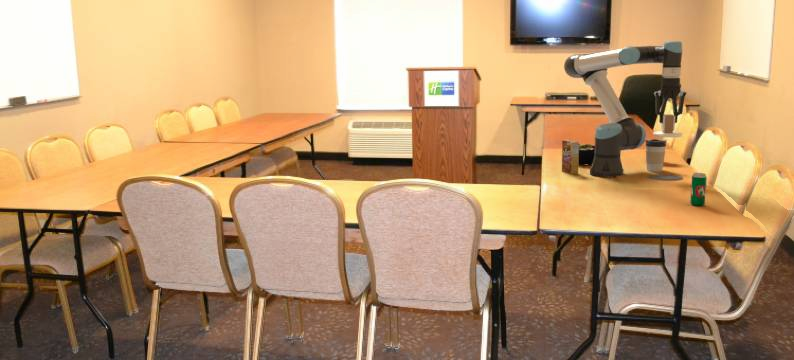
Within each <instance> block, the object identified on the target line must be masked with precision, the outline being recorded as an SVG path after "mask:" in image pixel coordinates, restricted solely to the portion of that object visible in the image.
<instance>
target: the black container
mask: <svg viewBox="0 0 794 360" xmlns="http://www.w3.org/2000/svg"><path fill="white" fill-rule="evenodd" d="M594 153H595V145H591V144H590V143H581V144H580V143H579V164H578V165H583V166H584V165H585V166H586V165H592V163H593V160H594Z"/></svg>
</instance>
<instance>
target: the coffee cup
mask: <svg viewBox="0 0 794 360" xmlns="http://www.w3.org/2000/svg"><path fill="white" fill-rule="evenodd" d="M652 139H653V140H650V141H648V143H646V142H645V163H646V165H645V166H646V167H645V168H646V171H648V172H653V173H655V172H658V173H659V172H663V167H664V164H665V155H666V146H667V145H666V144H667V142H666V143H664V141H660V140H657V139H658V138H652Z"/></svg>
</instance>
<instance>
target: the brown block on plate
mask: <svg viewBox="0 0 794 360" xmlns="http://www.w3.org/2000/svg"><path fill="white" fill-rule="evenodd" d="M663 116H665V130H664V131H662V130H661V131H660V130H658V131H657V130H656V131H653V132H652V136H653V137H659V138H679V137H681V138H682V137H683V132H681V131H675V130H674V131H673V122H674V114H667V113H666V114H665V113H664V115H663Z"/></svg>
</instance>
